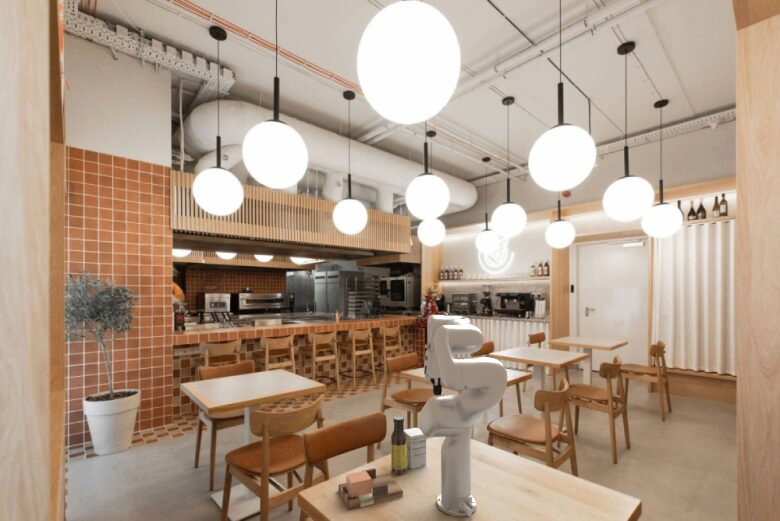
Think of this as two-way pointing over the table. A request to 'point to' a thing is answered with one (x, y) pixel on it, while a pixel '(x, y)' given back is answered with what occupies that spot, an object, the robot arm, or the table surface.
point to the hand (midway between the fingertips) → (437, 394)
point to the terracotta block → (358, 483)
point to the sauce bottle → (399, 447)
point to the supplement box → (415, 448)
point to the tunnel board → (374, 491)
